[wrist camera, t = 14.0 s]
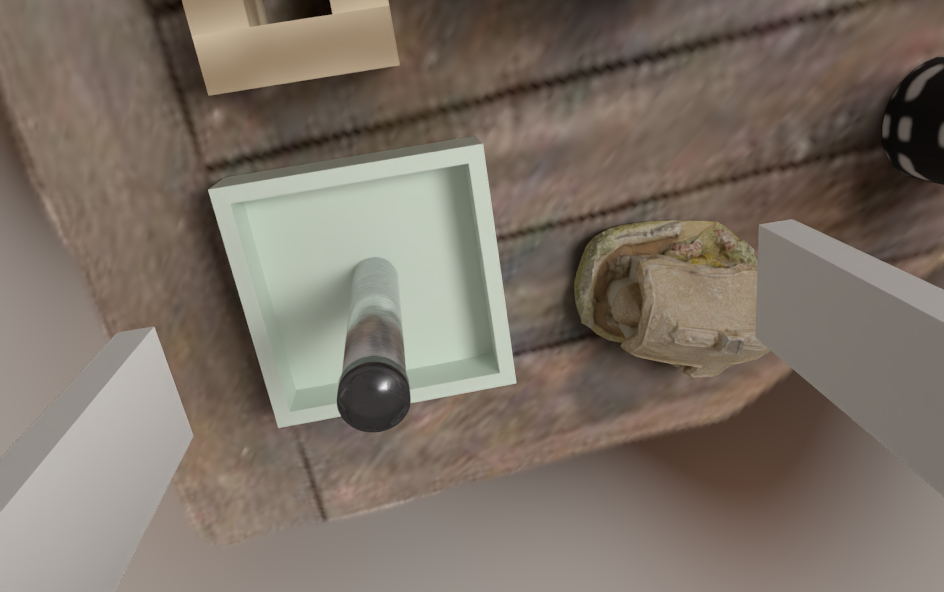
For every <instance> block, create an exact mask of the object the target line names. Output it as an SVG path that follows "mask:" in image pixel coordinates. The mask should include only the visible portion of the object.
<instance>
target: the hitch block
mask: <svg viewBox="0 0 944 592" xmlns="http://www.w3.org/2000/svg"><path fill="white" fill-rule="evenodd" d="M182 3H183V7H184V10H185V14H186V17H187V21H188V25H189V28H190V32H191V35H192V39H193V42H194V46H195V49H196V53H197V57H198V60H199V64H200V67H201V71H202V74H203V78H204V81H205V85H206V89H207V92H208V96H210V95H216V94H222V93H229V92H235V91H241V90H247V89H254V88H260V87H266V86H272V85H279V84H285V83H291V82H298V81H304V80H310V79H316V78H323V77H329V76H335V75H341V74H348V73H354V72H360V71H366V70H373V69H379V68H385V67H392V66H398V65H400V64H399V58H398V53H397V47H396V41H395V36H394V30H393V24H392V19H391V13H390V8H389V2H388V0H330V4H331V9H332V14H331V15H325V16H318V17H312V18H305V19H299V20H292V21H286V22H279V23H273V24H269V23H268V19H267V15H266V11H265V7H264V3H263V0H182Z"/></svg>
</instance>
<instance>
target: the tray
mask: <svg viewBox="0 0 944 592" xmlns="http://www.w3.org/2000/svg"><path fill="white" fill-rule="evenodd" d="M208 192H209V195H210V198H211V202H212V205H213V209H214V212H215V215H216V219H217V222H218V226H219V229H220V232H221V236H222V239H223V242H224V246H225V249H226V253H227V256H228V259H229V263H230V266H231V269H232V273H233V276H234V280H235V283H236V286H237V290H238V293H239V296H240V300H241V303H242V307H243V310H244V313H245V317H246V320H247V324H248V327H249V330H250V334H251V337H252V340H253V344H254V347H255V351H256V354H257V357H258V361H259V364H260V367H261V371H262V374H263V378H264V381H265V384H266V388H267V391H268V394H269V398H270V401H271V405H272V408H273V411H274V415H275V418H276V421H277V425H278V428H281V427H287V426H292V425H297V424H303V423H308V422H313V421H319V420H324V419H329V418H334V417H340V416H341V415H340V413H339V411H338V408H337V393H338V384H339V379H340V377H341V374H342V368H343V359H344V350H345V341H346V332H347V323H348V314H349V305H350V296H351V287H352V278H353V272H354V270H355V268H356V266H357V265H358V264H359V263H360V262H362V261H363V260H365V259H368V258H372V257H379V258H383V259H386V260H387V261H389V262H390V263H391V264H392V265H393V266H394V267H395V269H396V271H397V273H398V281H399V293H400V305H401V317H402V329H403V341H404V353H405V365H406V374H407V376H408V379H409V386H410V397H411V402H410V403H414V402H420V401H425V400H430V399H436V398H441V397H446V396H451V395H457V394H462V393H467V392H473V391H478V390H483V389H489V388H494V387H499V386H505V385H510V384H515V383H516V377H515V369H514V362H513V355H512V348H511V341H510V334H509V326H508V319H507V312H506V305H505V298H504V291H503V284H502V276H501V269H500V262H499V255H498V248H497V241H496V233H495V226H494V219H493V212H492V205H491V198H490V190H489V183H488V176H487V169H486V162H485V155H484V148H483V143H482V142H481V141H480V140H479V139H478V138H477V137H476V136H471V137H465V138H459V139H453V140H447V141H441V142H435V143H429V144H423V145H417V146H411V147H405V148H399V149H393V150H387V151H381V152H375V153H369V154H363V155H357V156H351V157H345V158H339V159H333V160H327V161H321V162H315V163H309V164H303V165H297V166H291V167H285V168H279V169H273V170H267V171H261V172H255V173H249V174H243V175H237V176H231V177H225V178H223V179H222V180H221V181H219V182H218V183H216V184H215V185H214V186H212V187H211V188H209V189H208Z"/></svg>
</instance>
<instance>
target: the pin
mask: <svg viewBox="0 0 944 592" xmlns="http://www.w3.org/2000/svg"><path fill="white" fill-rule="evenodd" d="M410 402H411V397H410V386H409V379H408V376H407V374H406V365H405V353H404V341H403V329H402V317H401V305H400V293H399V281H398V273H397V271H396V269H395V267H394V266H393V265H392V264H391V263H390V262H389V261H387V260H386V259H383V258H379V257H372V258H368V259H365V260H363V261H362V262H360V263H359V264H358V265H357V266H356V268H355V270H354V272H353V278H352V287H351V296H350V305H349V314H348V323H347V332H346V341H345V350H344V359H343V368H342V374H341V377H340V379H339V384H338V393H337V408H338V411H339V413H340V415H341V417H342V418H343V419H344V420H345V422H346V423H348V424H349V425H350V426H352V427H353V428H356V429H358V430H361V431H365V432H381V431H385V430H388V429H390V428H392V427H394V426H396V425H397V424H398V423H400V422H401V421H402V420H403V418H404V417H405V416H406V414H407V412H408V410H409V407H410Z"/></svg>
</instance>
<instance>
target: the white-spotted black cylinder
mask: <svg viewBox="0 0 944 592" xmlns="http://www.w3.org/2000/svg"><path fill="white" fill-rule="evenodd" d="M882 139H883V145H884V149H885V152H886V154H887V157H888V159H889V160H890V162H891V163H892V164H893V166H894V167H895V168H897V169H898V170H899V171H900V172H901V173H903V174H906V175H908V176H910V177H913V178H918V179H922V180H926V181H931V182H935V183H939V184H943V185H944V56H940V57H936V58H934V59H932V60H930V61H927V62H925V63H924V64H922V65H921V66H919V67H918V68H916V69H915V70H914V71H913V72H912V73H910V74H909V75H908V76H907V77H906V78H905V79H904V80H903V82H902V83H901V84H900V86H899V87H898V88H897V89H896V91H895V93H894V95H893V96H892V98H891V100H890V102H889V104H888V107H887V110H886V112H885V116H884V121H883V127H882Z"/></svg>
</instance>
